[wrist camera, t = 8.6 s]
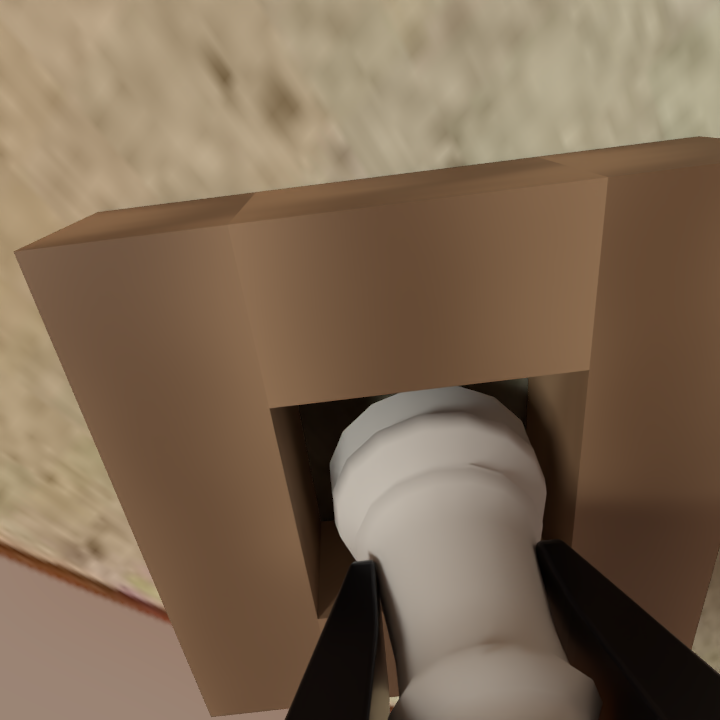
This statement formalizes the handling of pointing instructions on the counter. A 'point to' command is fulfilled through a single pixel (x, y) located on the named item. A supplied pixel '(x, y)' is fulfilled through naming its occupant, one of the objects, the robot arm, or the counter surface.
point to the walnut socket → (396, 374)
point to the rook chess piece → (457, 557)
